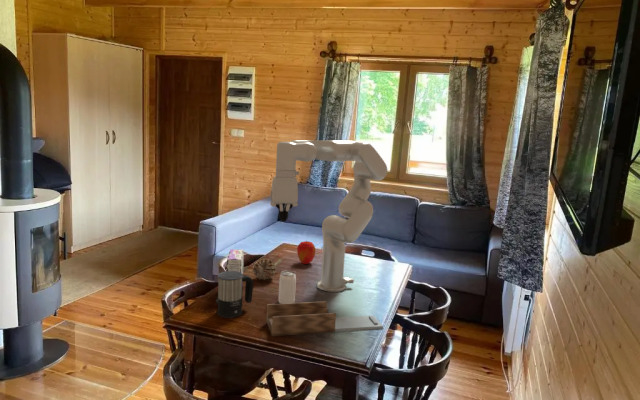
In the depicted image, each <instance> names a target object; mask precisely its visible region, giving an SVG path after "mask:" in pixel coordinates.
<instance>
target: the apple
mask: <svg viewBox="0 0 640 400" xmlns="http://www.w3.org/2000/svg"><path fill="white" fill-rule="evenodd" d="M316 250H317V249H316V246H315V244H314V243H313V242H311V241H308V240H306V241H305V240H304V241H301V242H300V243H299V244H298V245H297V257H298V260H299V262H300V263H301V264H303V265H308V264H310V263H311V262H313V261H314V257H315V255H316Z"/></svg>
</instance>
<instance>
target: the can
mask: <svg viewBox="0 0 640 400" xmlns="http://www.w3.org/2000/svg"><path fill="white" fill-rule="evenodd" d="M278 282H279V283H278V304H284V303H296V302H295V301H296V287H297V286H296V285H297V284H296V283H297V275H296V273H295V272H294V271H291V270H283V271H281V272H280V274H279V280H278Z"/></svg>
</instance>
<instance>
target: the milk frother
mask: <svg viewBox="0 0 640 400" xmlns="http://www.w3.org/2000/svg"><path fill="white" fill-rule="evenodd" d="M217 277H218V283H217V284H218V286H217V287H218V291H217V292H218V295H217V297H216V299H215V302H216V304H217V311H216V314H217V315H218V316H219V317H222V318H227V319H230V318H231V319H232V318H237V317H240V316H241V315H243V286H242V285H243V284H244V282H245V289H244V291H245V293H244V301H245V302H246V303H248V304H251V303H252V299H253V291H254V290H253V289H254V280H253V279H252V277H250V276H248V275H246V274H244V273H243V274H242V273H240V272H237V271H227V270H226V271H222V272H219V273H218V274H217Z"/></svg>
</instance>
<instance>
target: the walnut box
mask: <svg viewBox="0 0 640 400" xmlns="http://www.w3.org/2000/svg"><path fill="white" fill-rule="evenodd" d="M266 305H267V306H266V325H267V328H268V329H269V332H270V334H271V336H272V337H280V336H281V337H283V336H297V335H298V336H299V335H309V334H325V333H335V322H336V318H337V313H336V312H328V301H327V300H325V301H307V302H294V303H284V304H280V303H272V304H266Z"/></svg>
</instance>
